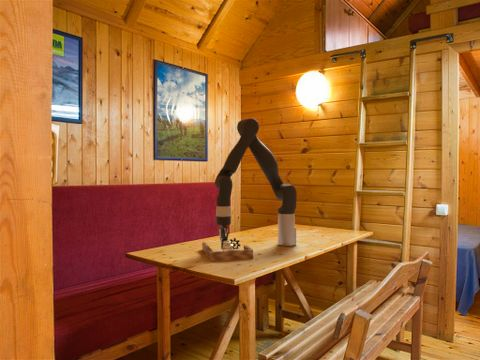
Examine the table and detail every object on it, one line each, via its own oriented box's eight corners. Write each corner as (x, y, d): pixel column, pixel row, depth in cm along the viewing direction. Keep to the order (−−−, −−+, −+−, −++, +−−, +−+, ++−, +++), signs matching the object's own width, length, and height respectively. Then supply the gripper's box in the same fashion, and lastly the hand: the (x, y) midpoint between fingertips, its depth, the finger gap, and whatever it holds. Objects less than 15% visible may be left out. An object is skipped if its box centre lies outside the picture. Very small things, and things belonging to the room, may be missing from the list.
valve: (230, 256, 176) (240, 251, 188) (231, 243, 176) (241, 238, 187) (218, 254, 179) (228, 249, 190) (219, 241, 179) (229, 237, 190)
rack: (239, 247, 197) (239, 239, 197) (253, 258, 172) (253, 248, 172) (202, 249, 192) (202, 241, 192) (210, 261, 167) (210, 251, 167)
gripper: (233, 216, 181) (233, 251, 181) (228, 213, 194) (228, 246, 194) (218, 216, 179) (218, 252, 180) (213, 213, 192) (213, 247, 192)
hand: (223, 249), depth 187 cm, fingers closed
